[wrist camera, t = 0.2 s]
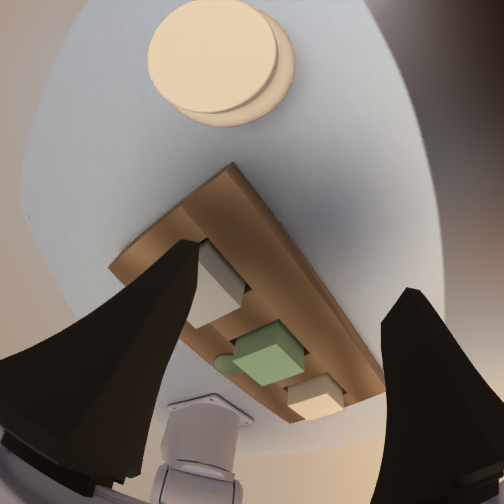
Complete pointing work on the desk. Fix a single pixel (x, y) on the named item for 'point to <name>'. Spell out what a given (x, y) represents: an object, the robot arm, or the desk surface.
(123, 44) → the desk surface
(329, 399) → the cream button
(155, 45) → the pill bottle
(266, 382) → the sage button
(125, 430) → the robot arm
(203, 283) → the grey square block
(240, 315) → the brown wooden slotted board
